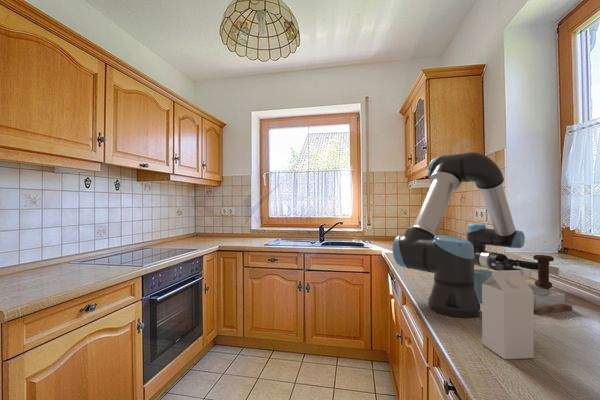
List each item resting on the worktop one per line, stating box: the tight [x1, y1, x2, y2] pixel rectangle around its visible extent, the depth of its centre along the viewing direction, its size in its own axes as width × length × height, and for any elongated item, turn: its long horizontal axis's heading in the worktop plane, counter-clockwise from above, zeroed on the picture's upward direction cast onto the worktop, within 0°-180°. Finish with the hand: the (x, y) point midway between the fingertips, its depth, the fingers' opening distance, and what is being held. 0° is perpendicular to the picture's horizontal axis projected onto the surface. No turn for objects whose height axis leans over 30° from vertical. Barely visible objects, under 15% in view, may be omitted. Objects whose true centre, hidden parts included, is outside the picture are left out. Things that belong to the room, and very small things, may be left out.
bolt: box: [533, 254, 555, 290], centre depth 109 cm, size 6×5×15 cm
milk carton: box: [481, 270, 535, 360], centre depth 69 cm, size 7×7×19 cm
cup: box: [474, 268, 493, 304], centre depth 104 cm, size 8×8×10 cm
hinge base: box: [527, 283, 573, 315], centre depth 100 cm, size 15×14×5 cm
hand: (544, 272), depth 109 cm, fingers open, 13 cm apart
